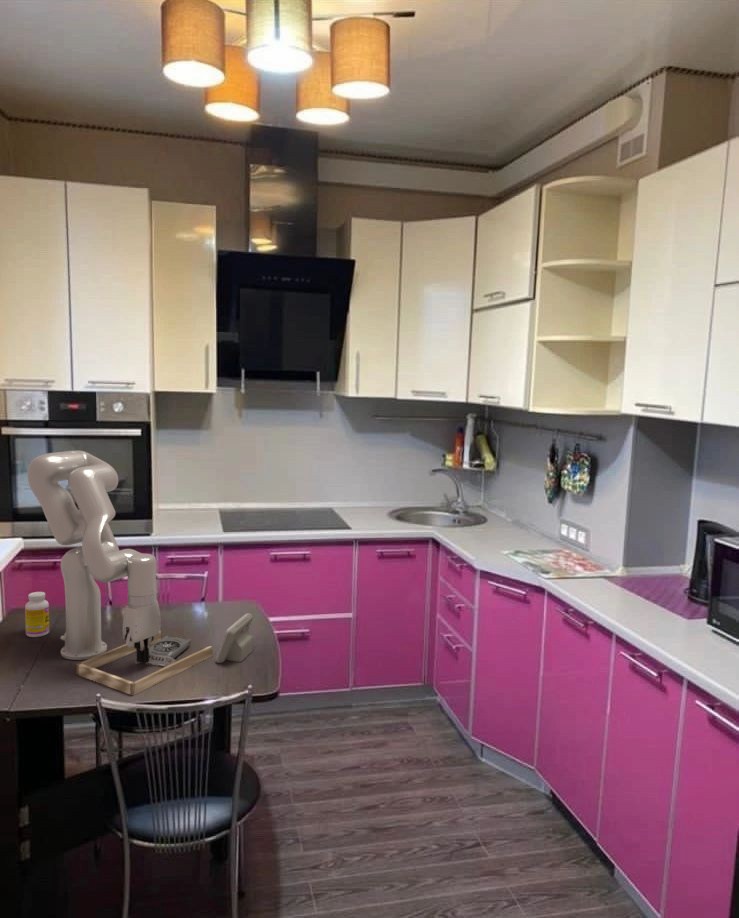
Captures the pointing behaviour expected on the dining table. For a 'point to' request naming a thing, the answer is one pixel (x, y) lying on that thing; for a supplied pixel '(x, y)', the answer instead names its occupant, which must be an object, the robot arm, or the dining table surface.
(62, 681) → the dining table surface
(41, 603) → the supplement bottle
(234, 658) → the digital clock
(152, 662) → the graphics card
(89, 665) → the wooden u-shaped frame
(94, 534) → the robot arm
